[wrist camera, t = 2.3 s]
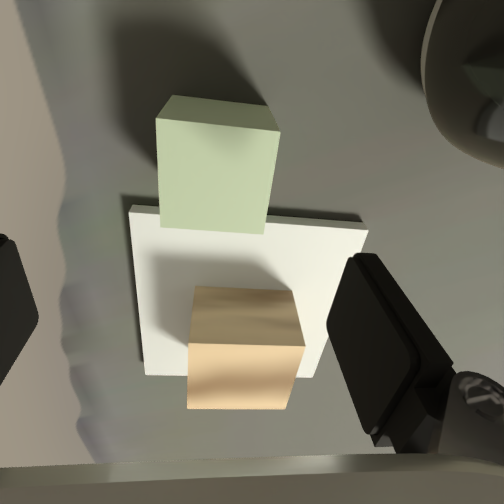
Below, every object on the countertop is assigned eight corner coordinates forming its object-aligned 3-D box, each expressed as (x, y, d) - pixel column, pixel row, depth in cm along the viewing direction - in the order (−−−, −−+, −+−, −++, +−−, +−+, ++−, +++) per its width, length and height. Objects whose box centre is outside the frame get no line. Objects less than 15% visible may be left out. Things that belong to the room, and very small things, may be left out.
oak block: (194, 285, 23) (188, 343, 19) (292, 290, 24) (305, 346, 20) (192, 350, 27) (187, 408, 23) (276, 352, 28) (284, 409, 24)
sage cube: (172, 94, 17) (155, 118, 13) (268, 106, 18) (280, 131, 13) (174, 184, 20) (160, 227, 16) (256, 191, 20) (263, 234, 16)
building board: (132, 204, 20) (128, 212, 19) (363, 222, 22) (368, 230, 21) (147, 365, 29) (145, 374, 28) (310, 368, 31) (312, 377, 30)
